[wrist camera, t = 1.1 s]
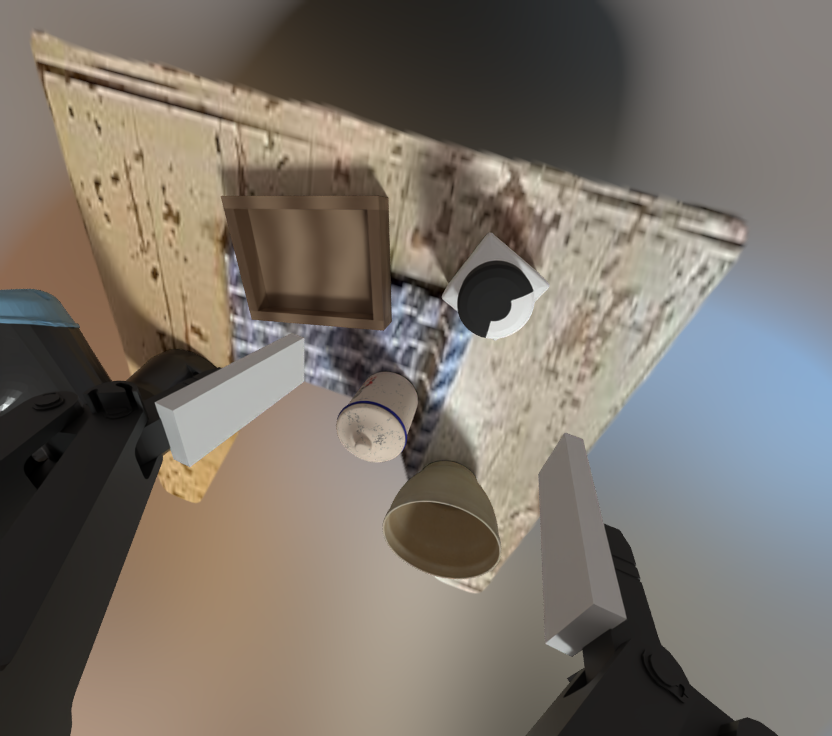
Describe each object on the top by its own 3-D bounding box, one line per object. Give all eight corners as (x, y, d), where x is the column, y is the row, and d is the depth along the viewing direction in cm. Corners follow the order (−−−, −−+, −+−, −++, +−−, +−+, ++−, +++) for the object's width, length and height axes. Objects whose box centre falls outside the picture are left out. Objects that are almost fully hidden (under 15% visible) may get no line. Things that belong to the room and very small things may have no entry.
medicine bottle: (447, 284, 35) (431, 312, 24) (489, 230, 31) (492, 236, 21) (493, 321, 36) (497, 363, 25) (539, 272, 32) (565, 298, 22)
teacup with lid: (369, 359, 42) (332, 405, 31) (428, 383, 41) (410, 437, 31) (351, 421, 47) (315, 476, 37) (403, 442, 47) (381, 503, 37)
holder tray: (269, 312, 42) (251, 319, 38) (243, 197, 35) (220, 195, 32) (391, 321, 38) (383, 330, 35) (388, 197, 32) (378, 195, 29)
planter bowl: (440, 425, 44) (428, 482, 35) (519, 485, 46) (528, 554, 37) (383, 476, 52) (361, 534, 42) (454, 526, 54) (447, 592, 44)
